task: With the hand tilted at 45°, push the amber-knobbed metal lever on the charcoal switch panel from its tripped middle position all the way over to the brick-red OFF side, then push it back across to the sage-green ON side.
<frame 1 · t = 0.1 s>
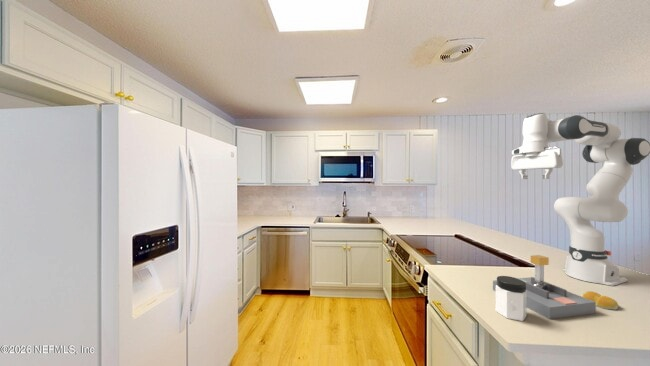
hand: (534, 179, 109), 48 cm above the counter, tool pointing down, fingers open, 8 cm apart
jar: (510, 314, 84), on the counter
bread roll: (598, 304, 91), on the counter
switch panel: (539, 300, 93), on the counter
breaker lever: (539, 273, 93), point 11 cm above the counter, hinge at 0.0°
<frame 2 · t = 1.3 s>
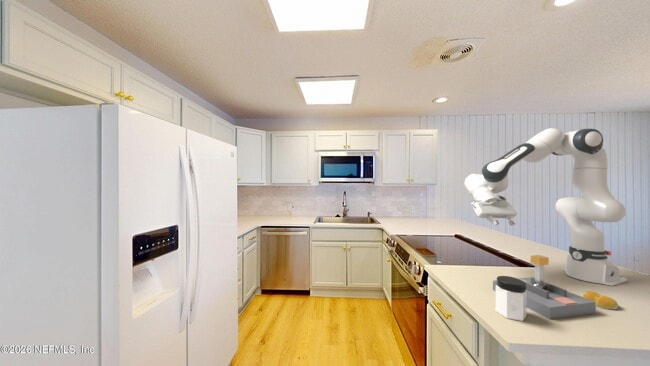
hand: (505, 224, 107), 27 cm above the counter, tool tilted 45°, fingers open, 8 cm apart
nothing on the counter moved.
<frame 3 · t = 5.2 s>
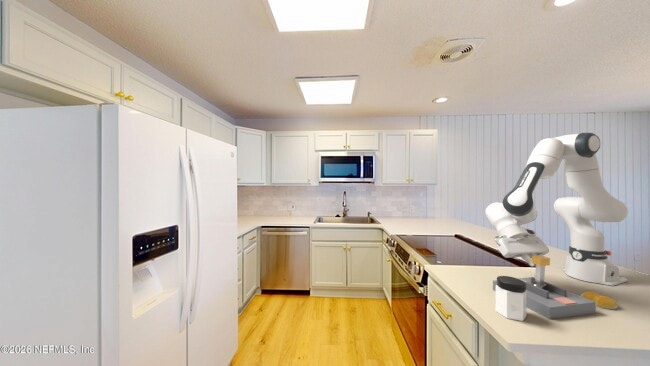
hand: (536, 265, 94), 13 cm above the counter, tool tilted 45°, fingers closed, pressing on breaker lever
breaker lever: (539, 273, 93), point 11 cm above the counter, hinge at -2.3°, touching gripper
everything else where it was.
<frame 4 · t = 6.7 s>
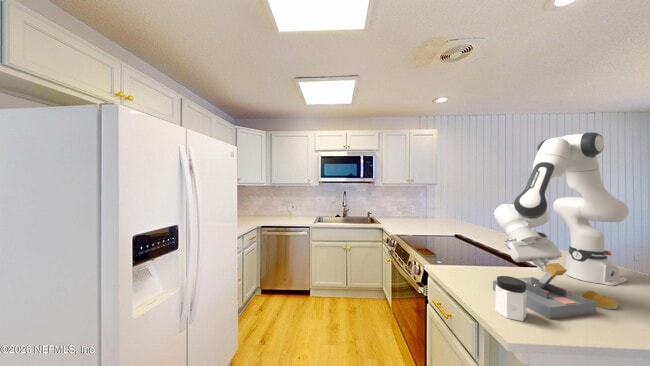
hand: (548, 270, 90), 13 cm above the counter, tool tilted 45°, fingers closed, pressing on breaker lever
breaker lever: (547, 278, 90), point 10 cm above the counter, hinge at -31.8°, touching gripper
everything else where it was.
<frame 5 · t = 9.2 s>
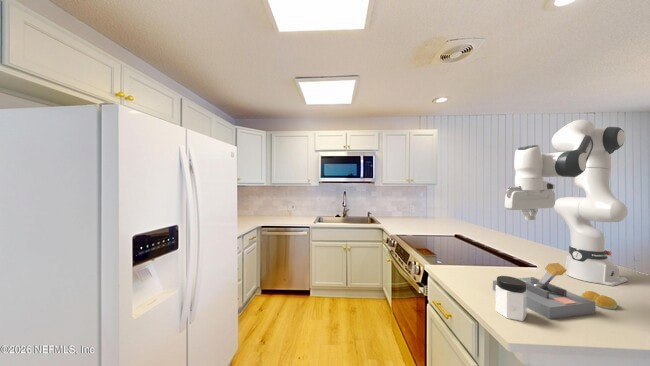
hand: (530, 220, 95), 31 cm above the counter, tool pointing down, fingers closed
breaker lever: (547, 278, 90), point 10 cm above the counter, hinge at -31.6°
everything else where it was.
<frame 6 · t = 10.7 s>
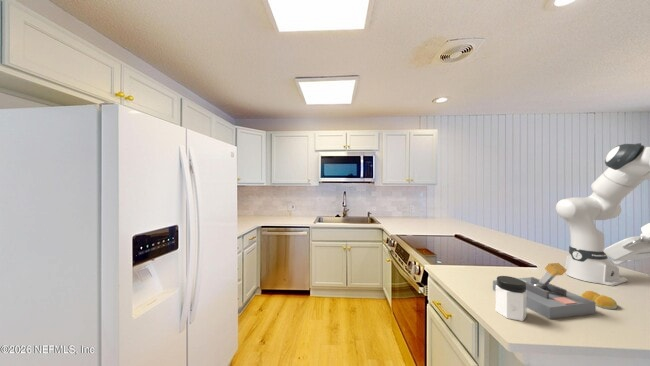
hand: (616, 261, 71), 23 cm above the counter, tool tilted 45°, fingers closed
nothing on the counter moved.
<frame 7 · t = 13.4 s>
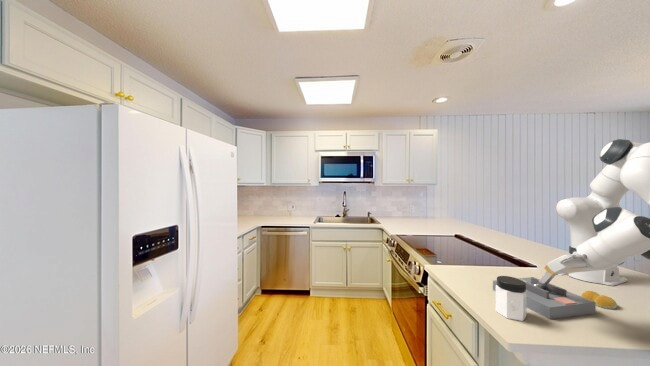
hand: (560, 273, 85), 14 cm above the counter, tool tilted 45°, fingers closed, pressing on breaker lever
breaker lever: (547, 278, 90), point 10 cm above the counter, hinge at -30.6°, touching gripper
everything else where it was.
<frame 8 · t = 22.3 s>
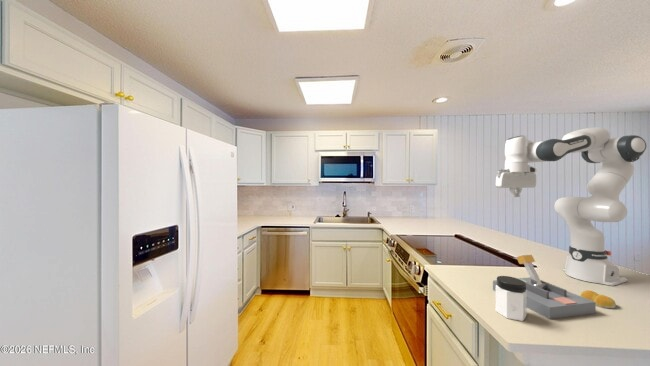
hand: (515, 197, 117), 39 cm above the counter, tool pointing down, fingers closed
breaker lever: (532, 272, 96), point 10 cm above the counter, hinge at 30.4°
everything else where it was.
at the end: breaker lever at +30° (first picture: +0°) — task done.
